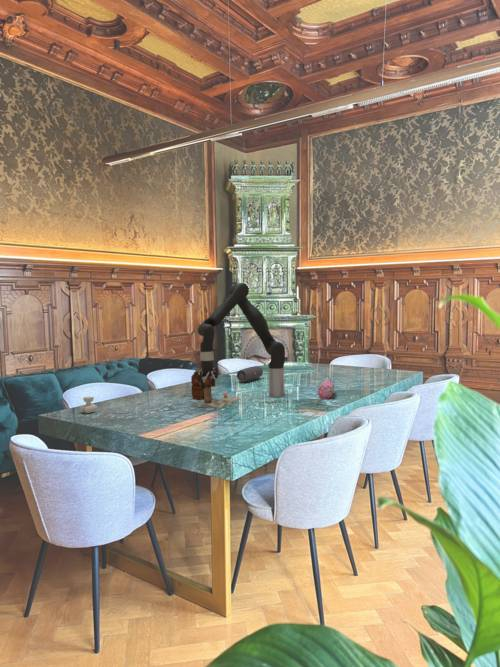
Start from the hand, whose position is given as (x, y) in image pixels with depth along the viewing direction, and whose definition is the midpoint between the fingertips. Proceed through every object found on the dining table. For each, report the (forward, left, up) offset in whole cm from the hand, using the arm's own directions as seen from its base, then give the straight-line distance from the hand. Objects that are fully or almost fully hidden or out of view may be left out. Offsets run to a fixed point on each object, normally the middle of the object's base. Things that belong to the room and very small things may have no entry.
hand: (208, 387), depth 256 cm
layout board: (-3, +3, -10) cm, 11 cm away
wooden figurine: (-10, -15, -10) cm, 20 cm away
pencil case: (-56, +45, -10) cm, 73 cm away
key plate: (-16, +2, -10) cm, 19 cm away
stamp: (+49, -43, -10) cm, 65 cm away
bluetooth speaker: (-73, -26, -10) cm, 78 cm away
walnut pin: (0, 0, -8) cm, 8 cm away
